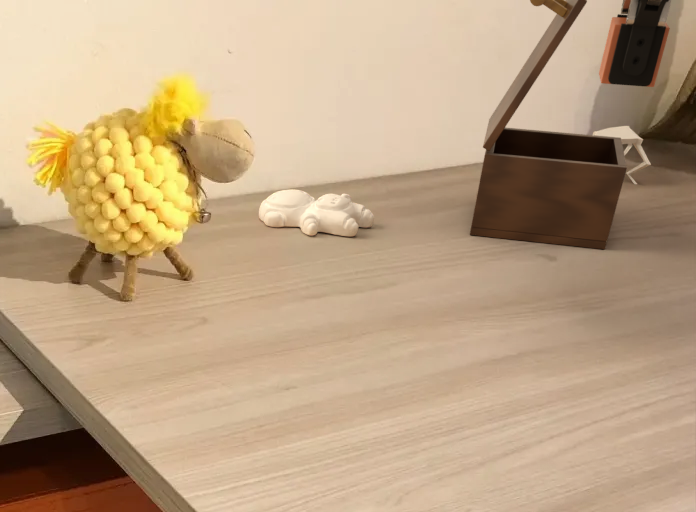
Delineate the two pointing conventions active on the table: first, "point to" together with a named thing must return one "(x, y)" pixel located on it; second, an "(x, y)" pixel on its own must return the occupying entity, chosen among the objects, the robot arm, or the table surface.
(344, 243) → the table surface
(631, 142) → the origami figure
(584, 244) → the chest
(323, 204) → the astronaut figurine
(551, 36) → the lid
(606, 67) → the block
